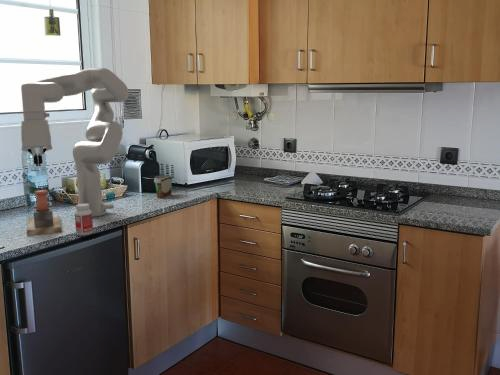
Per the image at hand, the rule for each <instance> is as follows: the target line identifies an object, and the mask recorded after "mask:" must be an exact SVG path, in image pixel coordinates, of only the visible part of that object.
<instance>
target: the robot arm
mask: <svg viewBox="0 0 500 375" xmlns="http://www.w3.org/2000/svg"><path fill="white" fill-rule="evenodd" d="M20 88H21V101H22V102H21V103H22V112H23V114H22V115H23V120H22V121H21V126H20V130H21V131H20V132H21V133H20V134H21V151H22V152H27V153H29V154H30V155H32V156H33V165H35V166H36V167H41V166H42V165H43V155H44V154H45V153H46V152H47V151H50V150H53V145H52V136H51V128H50V124H49V120H48V119H46V118H50V113H47V112H46V108H45V107H46V106H45V104H46V103H49V104H50V103H52V104H53V103H58V102H60V101H62V99H63V98H64V97H69V96H70V97H71V96H76V95H79V94H82V93H85V92H87V91H91V97H92V101H93V104H94V112H93V115H92V117H91V119H90V122H89V123H88V125H87V128H86V130H85V137H86V139H87V140H82V141H78V142H76V143H75V144H74V146H73V148H72V157H73V160H74V164H75V168H76V180H77V192H78V193H77V194H78V204H89V210H91V211H92V218H97V217H101V216H105V215H106V214H107V210H108V209H109V210H113V209H114V208H115V206H114V203H113V204H111V203H110V204H109V203H104V202H103V199H102V198H103V197H102V196H103V195H102V181H101V171H100V169H99V167H98V165H107V164H110V163H111V162H112V161H113V159H114V157H115V155H116V153H117V150H118V149H119V147H120V144H121V141H122V139H123V132H124V131H123V127H122V125H121V123H119V122H117V121H116V120H115V121H114V118H115V114H114V110H113V108H112V107H111V104H110V103H122V102H125V101H126V100H127V99H128V98H129V89H128V86H127V84H126V83H125V82H124V81H123V80H122V79H120V78H119V77H118V76H117V75H116V74H115V73H114V72H113V71H111V70H110V69H108V68H105V67H99V68H98V67H95V68H93V67H92V68H84V69H81V70H78V71H74V72H72V73H68V74H63V75H58V76H54V77H50V78H45V79H41V80H40V79H39V80H38V81H34V82H24V83H22V84H21V86H20ZM36 148H39V152H38V154H37V151H36Z"/></svg>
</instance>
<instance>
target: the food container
mask: <svg viewBox="0 0 500 375" xmlns="http://www.w3.org/2000/svg"><path fill="white" fill-rule="evenodd" d="M172 181H173V176H172V175H171V174H169V175H168V174H166V175H158V176H157V175H156V176H154V179H153V182H154V184H155V189H156V190H155V191H156V198H157V199H161V200H163V199H166V198H168V197H170V196H172V191H173V190H172V187H173V186H172V183H173V182H172Z"/></svg>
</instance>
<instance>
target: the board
mask: <svg viewBox="0 0 500 375" xmlns="http://www.w3.org/2000/svg"><path fill="white" fill-rule="evenodd" d="M47 202H48V201H47ZM52 203H53V202H51V201H50V202H48V211H40V212H38V207H37V203H34V204H33V216H32V217H28V219H27V227H26V235H27V236H37V235H46V234H56V233H62V232H63V231H62V223H61V216H60V214H53V205H52Z"/></svg>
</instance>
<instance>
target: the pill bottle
mask: <svg viewBox="0 0 500 375" xmlns="http://www.w3.org/2000/svg"><path fill="white" fill-rule="evenodd" d="M75 209H76V211H75V212H74V225H75V234H76V235H77V236H89V235H92V234H93V233H94V225H93V224H94V223H93V222H94V221H93V217H92V211H91V210H89V204H79V203H78V204H76V205H75Z"/></svg>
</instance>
